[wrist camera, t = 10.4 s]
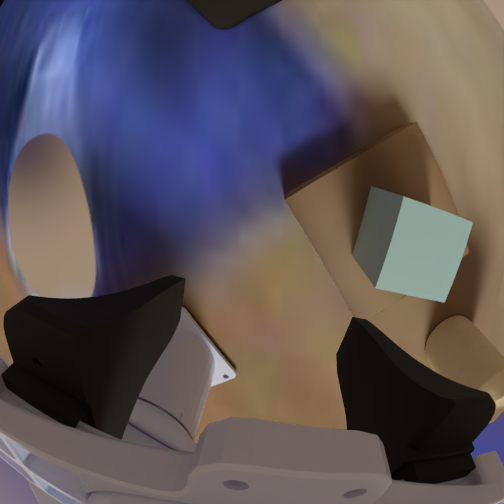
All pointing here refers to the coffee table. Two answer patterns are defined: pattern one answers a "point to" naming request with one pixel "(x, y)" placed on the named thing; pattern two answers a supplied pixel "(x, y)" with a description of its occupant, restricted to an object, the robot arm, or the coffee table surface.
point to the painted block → (410, 245)
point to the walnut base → (354, 203)
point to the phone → (229, 10)
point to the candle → (467, 358)
